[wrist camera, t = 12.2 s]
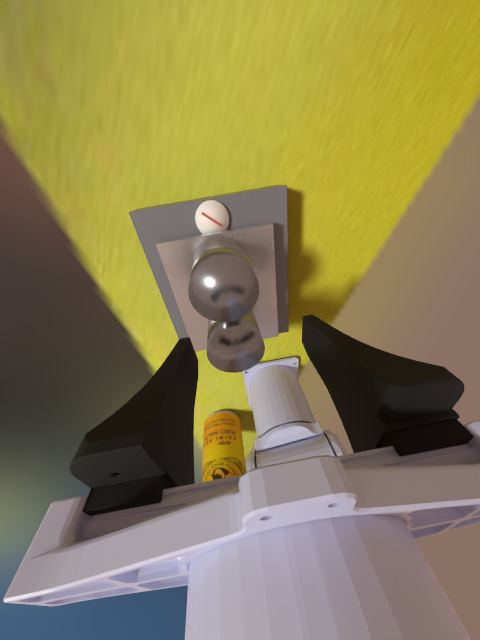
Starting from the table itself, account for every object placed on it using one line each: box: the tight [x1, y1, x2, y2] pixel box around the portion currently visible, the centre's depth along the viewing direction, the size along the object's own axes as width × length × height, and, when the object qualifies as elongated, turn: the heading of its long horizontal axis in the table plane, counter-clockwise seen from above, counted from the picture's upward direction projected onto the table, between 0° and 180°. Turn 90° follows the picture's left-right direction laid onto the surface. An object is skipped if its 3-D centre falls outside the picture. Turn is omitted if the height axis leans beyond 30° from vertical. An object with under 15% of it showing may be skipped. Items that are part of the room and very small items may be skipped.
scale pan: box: [156, 222, 278, 351], centre depth 19 cm, size 11×9×1 cm
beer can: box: [202, 410, 246, 482], centre depth 30 cm, size 6×6×15 cm
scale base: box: [129, 185, 289, 339], centre depth 20 cm, size 14×12×3 cm
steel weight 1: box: [188, 237, 259, 322], centre depth 15 cm, size 4×4×5 cm
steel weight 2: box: [207, 308, 265, 372], centre depth 18 cm, size 4×4×5 cm
